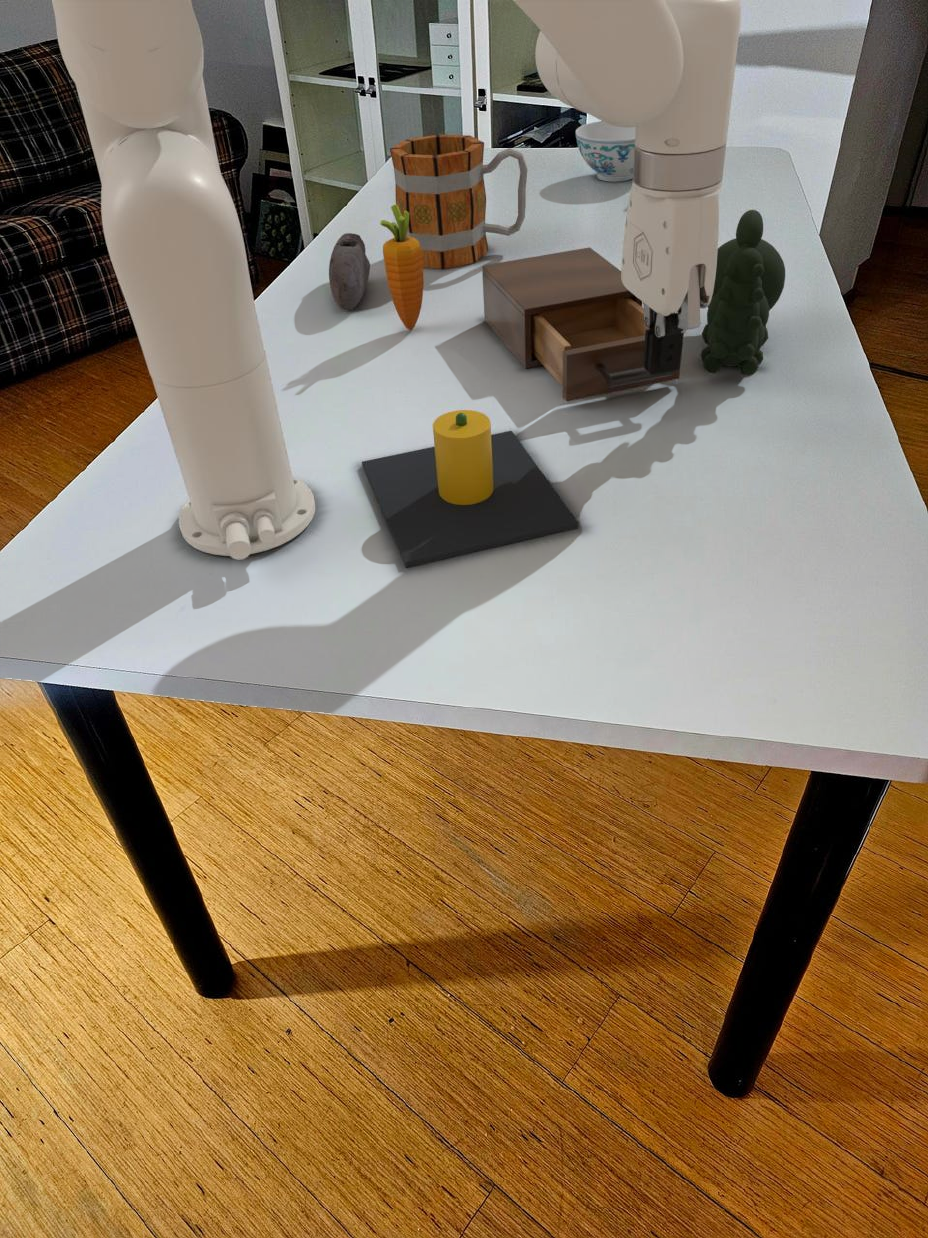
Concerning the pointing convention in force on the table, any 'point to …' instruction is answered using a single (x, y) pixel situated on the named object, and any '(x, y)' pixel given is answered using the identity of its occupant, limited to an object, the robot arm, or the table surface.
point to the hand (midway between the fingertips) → (661, 368)
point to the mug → (449, 196)
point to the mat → (453, 530)
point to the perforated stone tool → (348, 271)
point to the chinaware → (608, 150)
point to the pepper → (463, 456)
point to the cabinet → (545, 292)
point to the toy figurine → (742, 298)
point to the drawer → (594, 348)
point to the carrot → (404, 269)
